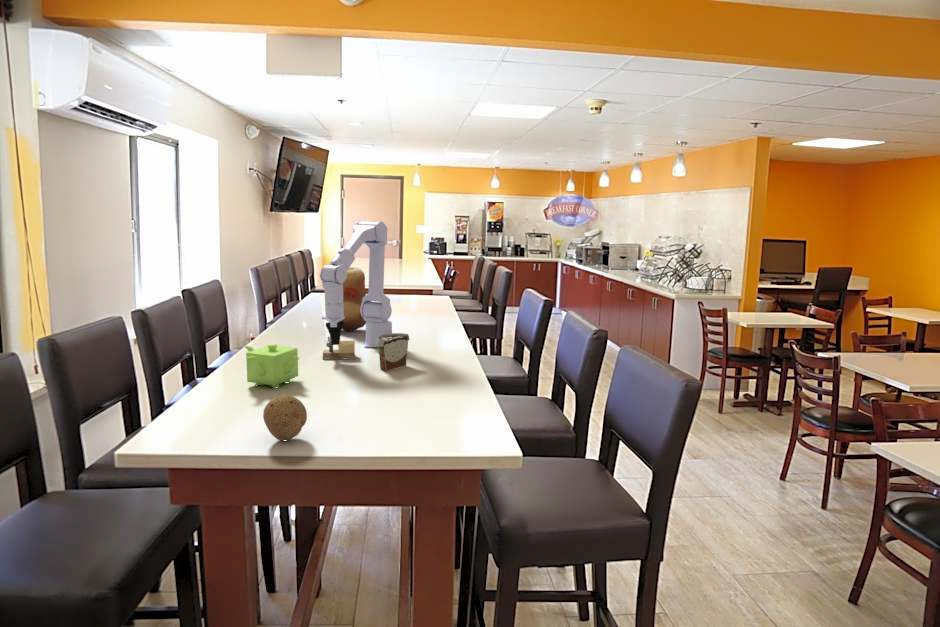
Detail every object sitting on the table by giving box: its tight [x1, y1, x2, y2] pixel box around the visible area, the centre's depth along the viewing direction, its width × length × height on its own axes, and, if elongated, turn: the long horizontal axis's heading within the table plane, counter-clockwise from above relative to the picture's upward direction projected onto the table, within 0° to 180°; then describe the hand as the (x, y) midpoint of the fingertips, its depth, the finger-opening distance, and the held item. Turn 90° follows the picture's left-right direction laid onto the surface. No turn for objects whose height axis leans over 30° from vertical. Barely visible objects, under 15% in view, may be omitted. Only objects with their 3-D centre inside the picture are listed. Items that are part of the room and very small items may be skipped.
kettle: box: [243, 343, 300, 389], centre depth 177 cm, size 15×14×11 cm
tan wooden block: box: [337, 340, 356, 353], centre depth 208 cm, size 5×5×3 cm
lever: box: [325, 336, 332, 348], centre depth 203 cm, size 10×2×2 cm, turn 8°
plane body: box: [321, 345, 356, 360], centre depth 208 cm, size 10×5×5 cm, turn 98°
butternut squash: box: [341, 266, 367, 332], centre depth 247 cm, size 14×13×25 cm
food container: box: [376, 332, 410, 373], centre depth 197 cm, size 12×6×10 cm, turn 145°
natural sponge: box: [262, 394, 308, 441], centre depth 136 cm, size 9×9×10 cm
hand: (335, 344), depth 204 cm, fingers closed, pressing on lever
